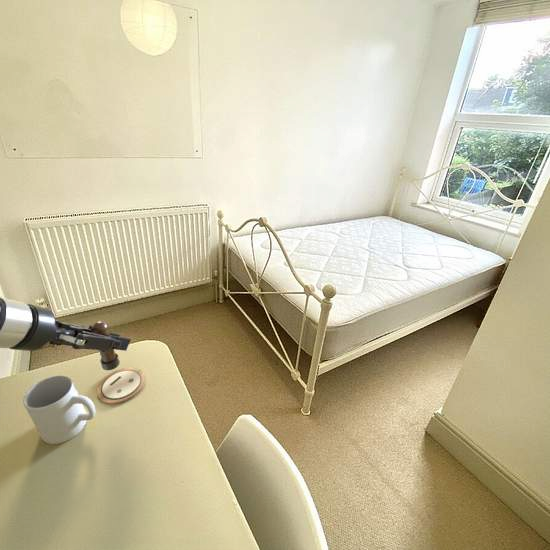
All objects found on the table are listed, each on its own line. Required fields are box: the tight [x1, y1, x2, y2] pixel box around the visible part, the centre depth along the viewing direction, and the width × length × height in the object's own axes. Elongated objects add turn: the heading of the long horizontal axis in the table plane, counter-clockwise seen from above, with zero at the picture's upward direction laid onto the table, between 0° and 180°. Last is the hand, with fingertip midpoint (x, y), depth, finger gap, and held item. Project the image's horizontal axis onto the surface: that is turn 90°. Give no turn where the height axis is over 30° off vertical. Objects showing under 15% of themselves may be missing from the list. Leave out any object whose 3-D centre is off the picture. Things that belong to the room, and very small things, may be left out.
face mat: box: [96, 367, 147, 405], centre depth 77 cm, size 11×11×1 cm
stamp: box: [91, 320, 121, 371], centre depth 67 cm, size 4×4×12 cm
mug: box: [22, 374, 97, 445], centre depth 64 cm, size 12×8×11 cm
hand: (121, 342), depth 72 cm, fingers closed on stamp, 3 cm apart
